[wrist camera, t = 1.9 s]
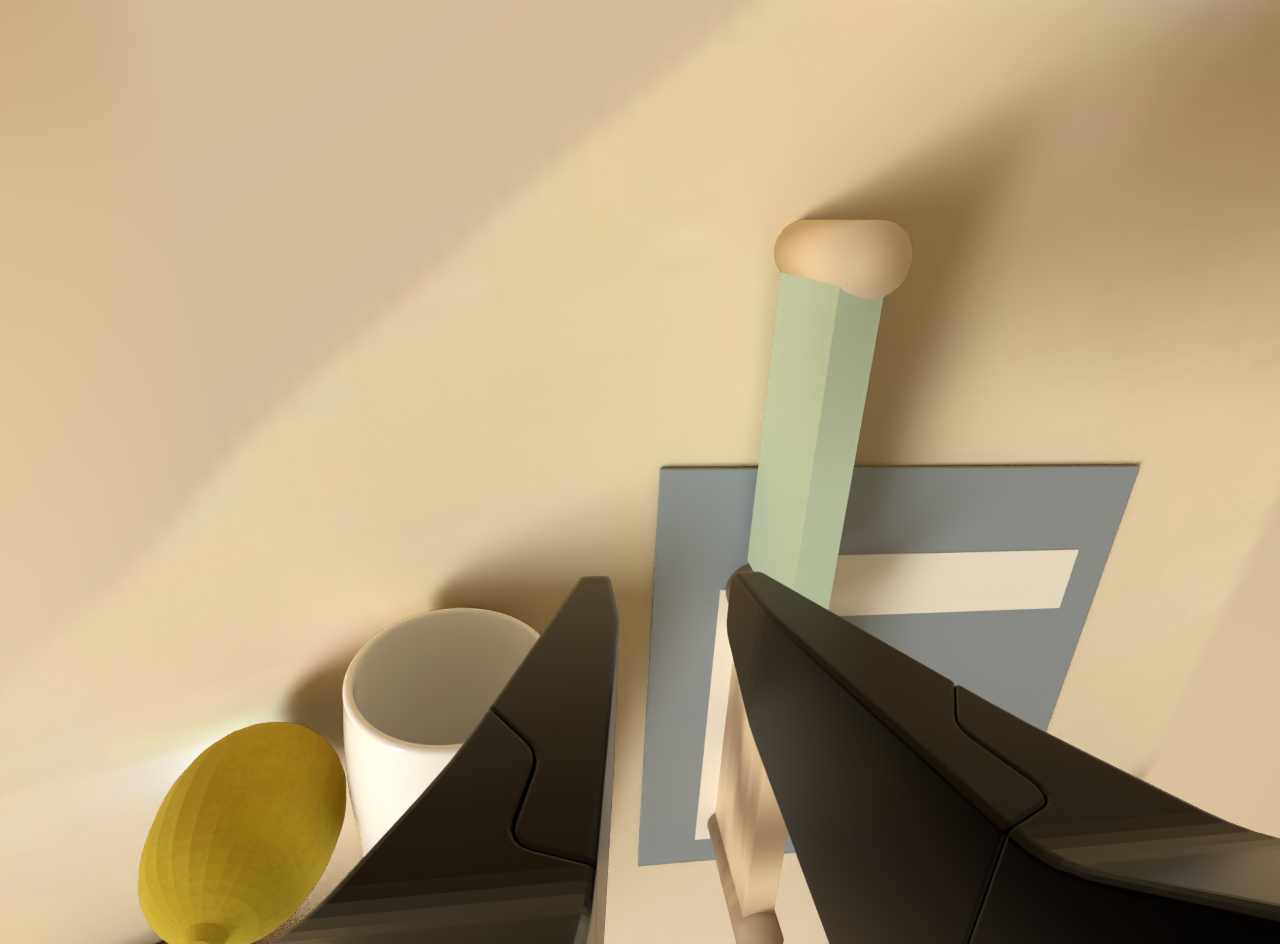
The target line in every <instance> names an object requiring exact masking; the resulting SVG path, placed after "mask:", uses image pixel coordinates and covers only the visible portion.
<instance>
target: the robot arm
mask: <svg viewBox="0 0 1280 944" xmlns="http://www.w3.org/2000/svg"><path fill="white" fill-rule="evenodd" d="M727 635H728V640H729V644H730V648H731V652H732V657H733V661H734V665H735V669H736V673H737V678H738V682H739V686H740V690H741V694H742V698H743V703H744V707H745V711H746V715H747V719H748V722H749V726H750V729H751V732H752V735H753V738H754V741H755V744H756V747H757V750H758V752H759V755H760V758H761V760H762V763H763V766H764V768H765V771H766V774H767V777H768V779H769V782H770V785H771V787H772V790H773V793H774V795H775V798H776V801H777V804H778V806H779V809H780V812H781V814H782V817H783V820H784V822H785V825H786V828H787V831H788V833H789V836H790V839H791V841H792V844H793V847H794V849H795V852H796V855H797V858H798V860H799V863H800V866H801V868H802V871H803V874H804V877H805V879H806V882H807V885H808V887H809V890H810V893H811V895H812V898H813V901H814V904H815V906H816V909H817V912H818V914H819V917H820V920H821V922H822V925H823V928H824V931H825V933H826V936H827V939H828V941H829V944H1280V838H1276V837H1273V836H1269V835H1266V834H1262V833H1258V832H1255V831H1252V830H1249V829H1246V828H1244V827H1241V826H1238V825H1235V824H1233V823H1230V822H1227V821H1225V820H1223V819H1221V818H1219V817H1216V816H1214V815H1212V814H1210V813H1208V812H1205V811H1203V810H1201V809H1199V808H1197V807H1195V806H1193V805H1191V804H1189V803H1187V802H1185V801H1183V800H1181V799H1179V798H1177V797H1175V796H1173V795H1171V794H1169V793H1167V792H1165V791H1163V790H1161V789H1158V788H1157V787H1155V786H1153V785H1151V784H1149V783H1147V782H1145V781H1143V780H1141V779H1139V778H1137V777H1135V776H1133V775H1131V774H1129V773H1127V772H1125V771H1122V770H1120V769H1118V768H1116V767H1114V766H1112V765H1110V764H1108V763H1106V762H1104V761H1102V760H1100V759H1098V758H1096V757H1094V756H1092V755H1090V754H1088V753H1086V752H1084V751H1082V750H1080V749H1078V748H1076V747H1074V746H1072V745H1070V744H1068V743H1066V742H1064V741H1062V740H1060V739H1058V738H1056V737H1054V736H1052V735H1051V734H1049V733H1047V732H1045V731H1043V730H1041V729H1039V728H1037V727H1035V726H1033V725H1031V724H1029V723H1027V722H1025V721H1023V720H1021V719H1020V718H1018V717H1016V716H1014V715H1012V714H1011V713H1009V712H1007V711H1005V710H1003V709H1001V708H1000V707H998V706H996V705H994V704H992V703H990V702H989V701H987V700H985V699H983V698H982V697H980V696H978V695H976V694H975V693H973V692H971V691H969V690H968V689H966V688H964V687H963V686H961V685H956V686H955V684H954V682H953V681H952V680H950V679H948V678H946V677H945V676H943V675H941V674H939V673H938V672H936V671H934V670H932V669H931V668H929V667H927V666H925V665H924V664H922V663H920V662H918V661H917V660H915V659H913V658H911V657H910V656H908V655H906V654H904V653H903V652H901V651H899V650H897V649H896V648H894V647H892V646H890V645H889V644H887V643H885V642H883V641H882V640H880V639H878V638H876V637H875V636H873V635H871V634H869V633H868V632H866V631H864V630H862V629H861V628H859V627H857V626H855V625H854V624H852V623H850V622H848V621H847V620H845V619H843V618H841V617H839V616H838V615H836V614H834V613H832V612H831V611H829V610H827V609H825V608H824V607H822V606H820V605H818V604H817V603H815V602H813V601H811V600H810V599H808V598H806V597H804V596H803V595H801V594H799V593H797V592H796V591H794V590H792V589H790V588H789V587H787V586H785V585H783V584H782V583H780V582H778V581H776V580H775V579H773V578H771V577H769V576H768V575H766V574H764V573H762V572H758V571H756V572H737V573H735V574H734V575H733V577H732V579H731V584H730V593H729V603H728V612H727ZM618 638H619V619H618V612H617V608H616V604H615V599H614V595H613V590H612V586H611V581H610V579H609V577H607V576H585V577H582V578H580V579H579V581H578V582H577V584H576V585H575V586H574V588H573V589H572V591H571V592H570V594H569V595H568V596H567V598H566V599H565V601H564V602H563V604H562V605H561V606H560V608H559V609H558V611H557V612H556V614H555V615H554V616H553V618H552V619H551V621H550V622H549V623H548V625H547V626H546V628H545V629H544V631H543V632H542V633H541V635H540V636H539V638H538V639H537V641H536V642H535V643H534V645H533V646H532V648H531V649H530V651H529V652H528V653H527V655H526V656H525V658H524V659H523V661H522V662H521V663H520V665H519V666H518V668H517V669H516V670H515V672H514V673H513V675H512V676H511V678H510V679H509V680H508V682H507V683H506V685H505V686H504V688H503V689H502V690H501V692H500V693H499V695H498V696H497V698H496V699H495V700H494V702H493V703H492V705H491V706H490V708H489V711H487V712H486V713H485V714H484V715H483V717H482V718H481V720H480V721H479V723H478V724H477V726H476V727H475V728H474V730H473V731H472V733H471V734H470V735H469V737H468V738H467V739H466V741H465V742H464V743H463V745H462V746H461V747H460V749H459V750H458V751H457V752H456V754H455V755H454V756H453V758H452V759H451V760H450V762H449V763H448V764H447V765H446V766H445V767H444V769H443V770H442V771H441V772H440V773H439V774H438V775H437V777H436V778H435V779H434V780H433V781H432V782H431V783H430V785H429V786H428V787H427V788H426V789H425V790H424V792H423V793H422V794H421V795H420V796H419V797H418V798H417V799H416V801H415V802H414V803H413V804H412V805H411V806H410V807H409V808H408V809H407V810H406V811H405V813H404V814H403V815H402V816H401V817H400V818H399V819H398V820H397V821H396V822H395V823H394V825H393V826H392V827H391V828H390V829H389V830H388V831H387V832H386V833H385V834H384V835H383V837H382V838H381V839H380V840H379V841H378V842H377V843H376V844H375V845H374V846H373V847H372V849H371V850H370V851H369V852H368V853H367V854H366V855H365V856H364V857H363V858H362V859H361V860H360V862H359V863H358V864H357V865H356V866H355V867H354V868H353V869H352V870H351V871H350V872H349V874H348V875H347V876H346V877H345V878H344V879H343V880H342V881H341V882H340V883H339V884H338V886H337V887H336V888H335V889H334V890H333V891H332V892H331V893H330V894H329V895H328V896H327V897H326V898H325V899H324V900H323V901H322V902H321V903H320V904H319V905H318V906H317V907H316V908H315V909H314V910H312V911H311V912H310V913H309V914H308V915H307V916H306V917H305V918H303V919H302V920H301V921H300V922H299V923H297V924H296V925H295V926H293V927H292V928H291V929H289V930H288V931H287V932H285V933H284V934H283V935H281V936H280V937H278V938H276V939H275V940H273V941H271V942H270V943H268V944H604V932H605V914H606V896H607V879H608V861H609V844H610V826H611V809H612V791H613V774H614V756H615V729H616V699H617V668H618Z"/></svg>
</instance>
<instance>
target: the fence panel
mask: <svg viewBox="0 0 1280 944" xmlns="http://www.w3.org/2000/svg"><path fill="white" fill-rule="evenodd" d="M774 257H775V262H776V265H777V267H778V269H779V270H780V272H781V278H780V286H779V295H778V303H777V312H776V320H775V329H774V337H773V346H772V354H771V363H770V371H769V380H768V388H767V397H766V405H765V414H764V422H763V431H762V439H761V448H760V456H759V465H758V473H757V482H756V490H755V499H754V507H753V516H752V524H751V533H750V541H749V550H748V558H747V561H748V563H749V564H750V566H751V568H752V570H753V571H754V572H756V571H758V572H762V573H764V574H766V575H768V576H769V577H771V578H773V579H775V580H776V581H778V582H780V583H782V584H783V585H785V586H787V587H789V588H790V589H792V590H794V591H796V592H797V593H799V594H801V595H803V596H804V597H806V598H808V599H810V600H811V601H813V602H815V603H817V604H818V605H820V606H822V607H824V608H825V609H827V610H828V609H829V604H830V598H831V592H832V587H833V581H834V575H835V570H836V564H837V558H838V553H839V547H840V541H841V536H842V530H843V525H844V519H845V513H846V508H847V502H848V496H849V491H850V485H851V479H852V474H853V468H854V462H855V457H856V451H857V445H858V440H859V434H860V428H861V423H862V417H863V412H864V406H865V400H866V395H867V389H868V383H869V378H870V372H871V366H872V361H873V355H874V349H875V344H876V338H877V332H878V327H879V321H880V316H881V310H882V304H883V299H884V296H886V295H888V294H890V293H892V292H893V291H894V290H896V289H897V288H898V287H899V286H900V285H901V284H902V282H903V281H904V280H905V278H906V277H907V275H908V273H909V270H910V268H911V264H912V259H913V248H912V243H911V240H910V237H909V236H908V234H907V232H906V231H905V230H904V229H903V228H902V227H901V226H900V225H898V224H897V223H895V222H892V221H889V220H810V219H806V220H798V221H795V222H793V223H791V224H789V225H788V226H787V227H786V228H785V229H784V230H783V231H782V232H781V233H780V235H779V237H778V239H777V241H776V244H775V249H774Z"/></svg>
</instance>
